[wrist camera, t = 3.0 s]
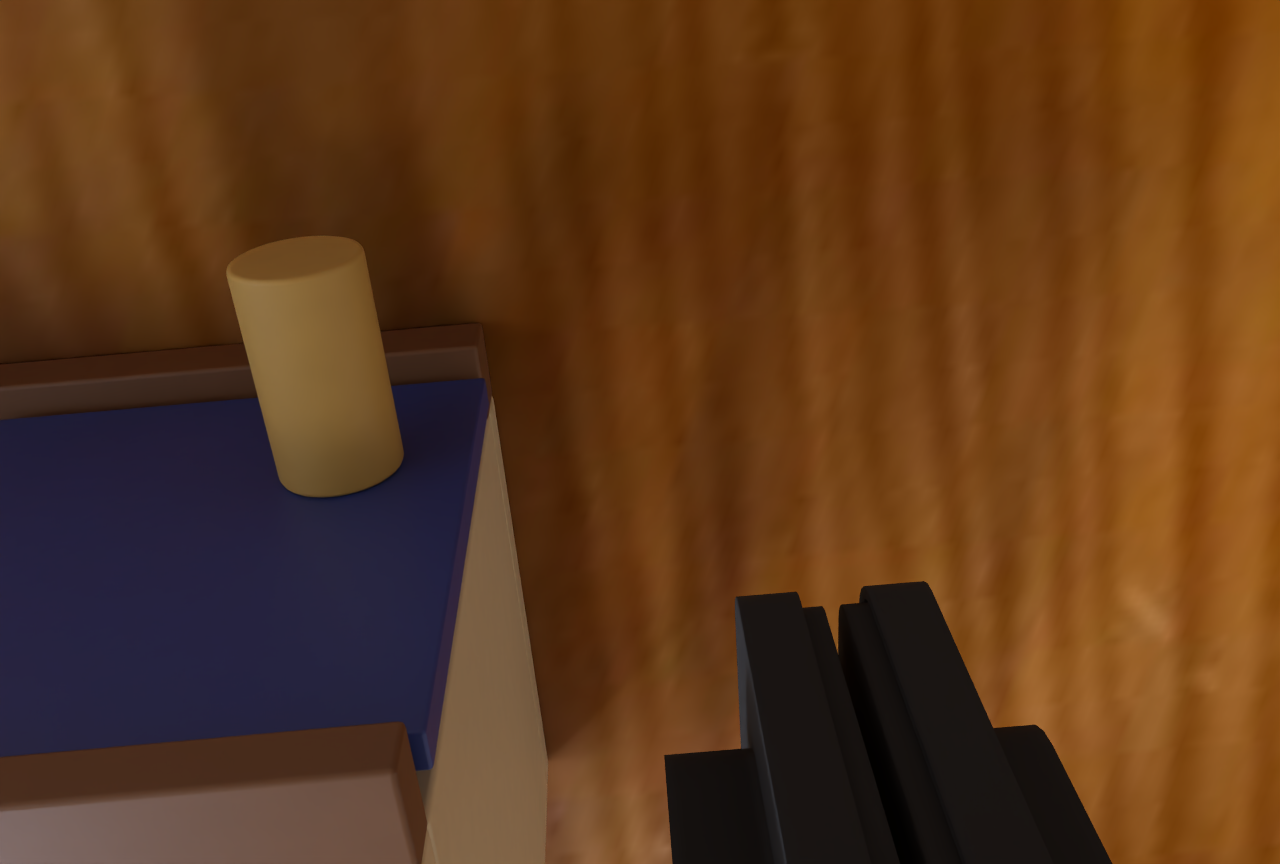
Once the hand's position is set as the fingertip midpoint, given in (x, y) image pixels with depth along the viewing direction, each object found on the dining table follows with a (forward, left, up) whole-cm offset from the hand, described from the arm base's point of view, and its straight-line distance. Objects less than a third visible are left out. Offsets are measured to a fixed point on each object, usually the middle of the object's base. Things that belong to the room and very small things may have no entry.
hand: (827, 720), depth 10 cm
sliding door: (0, -9, -12) cm, 15 cm away
